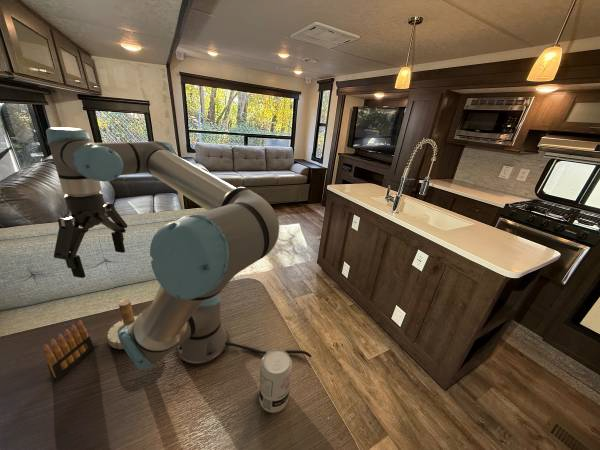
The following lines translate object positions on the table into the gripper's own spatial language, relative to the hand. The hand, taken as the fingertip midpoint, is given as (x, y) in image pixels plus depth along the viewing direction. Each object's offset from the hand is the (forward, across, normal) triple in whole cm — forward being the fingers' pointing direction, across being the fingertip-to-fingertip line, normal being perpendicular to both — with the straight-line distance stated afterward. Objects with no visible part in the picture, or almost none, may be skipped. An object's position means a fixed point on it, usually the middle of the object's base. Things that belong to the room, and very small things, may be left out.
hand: (101, 263), depth 71 cm
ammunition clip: (+28, +11, -5) cm, 31 cm away
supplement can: (+28, +11, +55) cm, 63 cm away
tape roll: (+27, 0, +4) cm, 27 cm away
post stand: (+28, 0, +4) cm, 29 cm away
